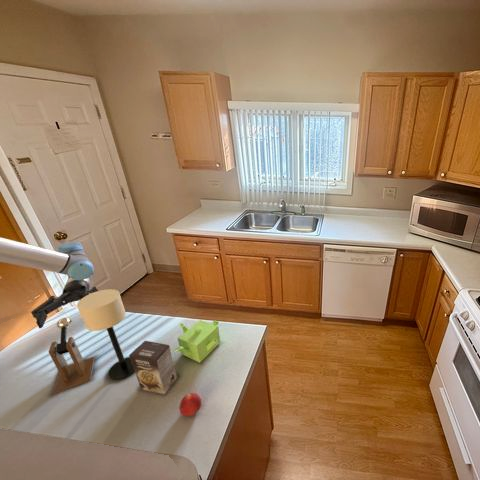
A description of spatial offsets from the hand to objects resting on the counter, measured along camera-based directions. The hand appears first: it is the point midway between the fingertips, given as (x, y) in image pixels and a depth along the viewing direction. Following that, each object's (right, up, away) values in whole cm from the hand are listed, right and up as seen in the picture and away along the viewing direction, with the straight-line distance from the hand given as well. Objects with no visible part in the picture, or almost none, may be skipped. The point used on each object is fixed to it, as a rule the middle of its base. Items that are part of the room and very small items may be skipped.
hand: (66, 318), depth 89 cm
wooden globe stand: (+5, -19, -2) cm, 20 cm away
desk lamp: (+20, -19, +1) cm, 27 cm away
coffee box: (+35, -22, -3) cm, 41 cm away
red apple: (+50, -26, -11) cm, 57 cm away
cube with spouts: (+42, -16, +10) cm, 46 cm away
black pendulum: (+3, -5, -3) cm, 7 cm away
